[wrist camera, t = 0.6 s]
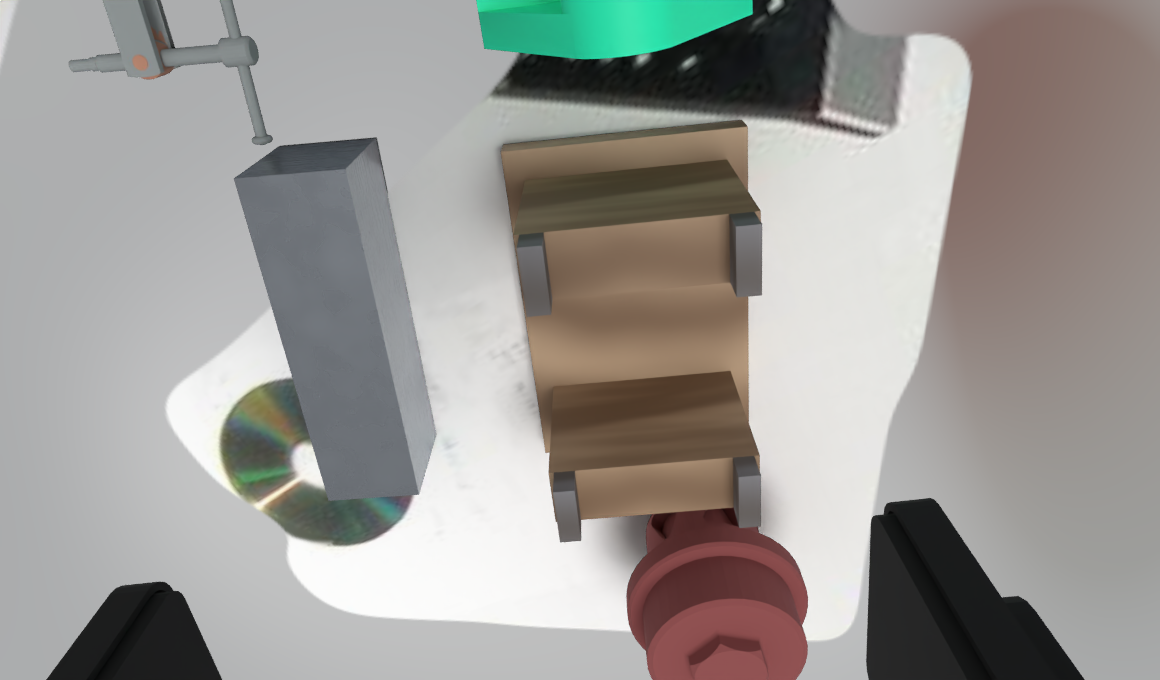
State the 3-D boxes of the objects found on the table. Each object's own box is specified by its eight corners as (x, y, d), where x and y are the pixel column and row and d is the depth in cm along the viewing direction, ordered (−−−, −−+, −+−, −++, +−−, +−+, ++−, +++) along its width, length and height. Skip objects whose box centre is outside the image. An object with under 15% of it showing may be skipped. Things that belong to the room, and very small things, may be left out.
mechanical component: (695, 595, 54) (588, 519, 51) (807, 511, 51) (700, 424, 47) (726, 764, 43) (591, 681, 40) (871, 670, 40) (736, 571, 37)
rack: (503, 144, 40) (478, 214, 30) (741, 120, 39) (796, 182, 29) (546, 438, 48) (538, 567, 38) (743, 421, 47) (786, 548, 38)
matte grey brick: (280, 145, 40) (233, 178, 35) (376, 137, 40) (345, 169, 34) (356, 437, 48) (328, 500, 43) (436, 432, 48) (419, 494, 43)
